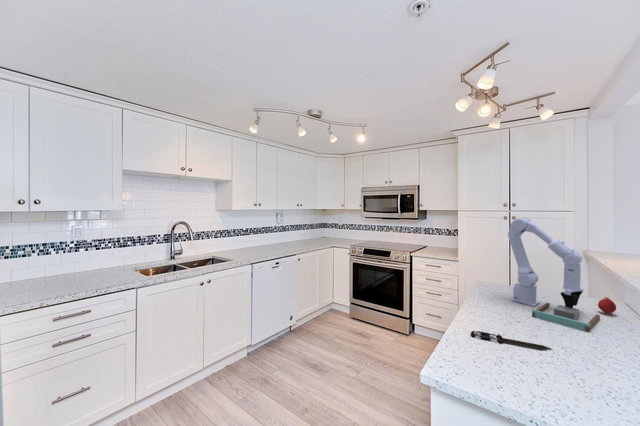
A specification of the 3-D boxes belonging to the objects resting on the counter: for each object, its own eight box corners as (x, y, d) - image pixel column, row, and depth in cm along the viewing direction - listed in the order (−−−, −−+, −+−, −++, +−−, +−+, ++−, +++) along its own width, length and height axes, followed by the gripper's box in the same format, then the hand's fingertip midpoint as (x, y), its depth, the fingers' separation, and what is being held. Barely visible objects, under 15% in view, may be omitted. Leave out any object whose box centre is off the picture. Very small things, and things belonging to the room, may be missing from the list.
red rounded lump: (607, 311, 129) (608, 295, 129) (619, 316, 123) (620, 299, 123) (594, 311, 130) (594, 294, 129) (605, 316, 124) (606, 299, 123)
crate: (553, 317, 123) (553, 308, 123) (558, 313, 128) (559, 304, 128) (574, 322, 118) (574, 313, 117) (579, 318, 122) (579, 309, 122)
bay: (531, 316, 124) (532, 310, 124) (546, 306, 136) (546, 300, 136) (588, 332, 109) (589, 324, 109) (599, 319, 120) (600, 312, 120)
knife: (551, 349, 97) (552, 345, 97) (555, 358, 92) (555, 354, 92) (471, 331, 111) (471, 328, 111) (470, 338, 106) (470, 334, 106)
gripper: (579, 283, 120) (578, 313, 120) (587, 277, 128) (586, 306, 129) (558, 279, 125) (558, 308, 126) (567, 274, 134) (567, 301, 134)
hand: (571, 306), depth 128 cm, fingers open, 7 cm apart
